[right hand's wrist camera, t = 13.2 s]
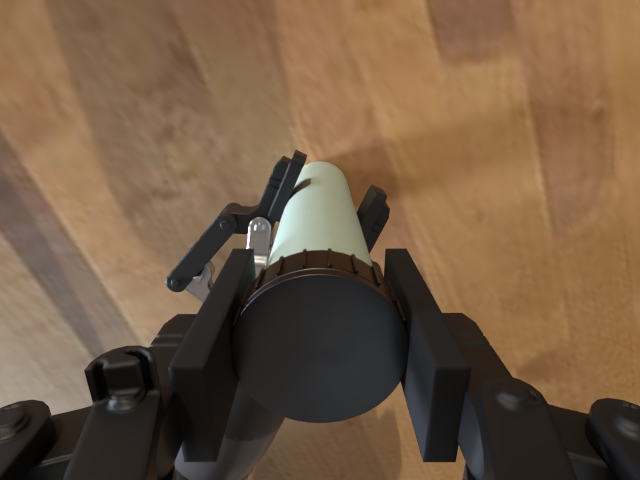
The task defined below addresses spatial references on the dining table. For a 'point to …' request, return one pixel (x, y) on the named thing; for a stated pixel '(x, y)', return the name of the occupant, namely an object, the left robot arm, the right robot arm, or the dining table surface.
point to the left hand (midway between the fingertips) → (339, 173)
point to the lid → (319, 337)
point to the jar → (320, 216)
